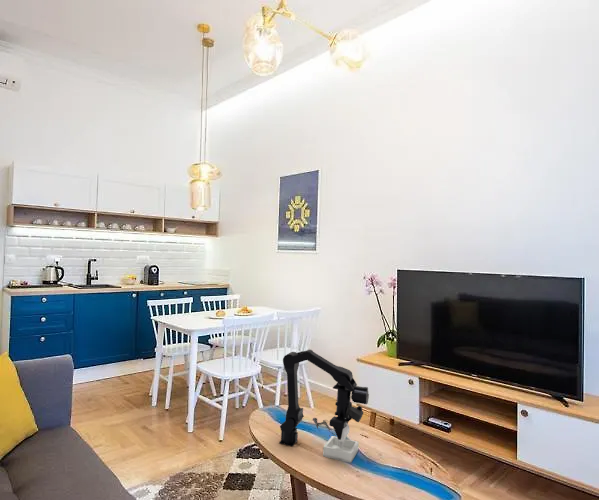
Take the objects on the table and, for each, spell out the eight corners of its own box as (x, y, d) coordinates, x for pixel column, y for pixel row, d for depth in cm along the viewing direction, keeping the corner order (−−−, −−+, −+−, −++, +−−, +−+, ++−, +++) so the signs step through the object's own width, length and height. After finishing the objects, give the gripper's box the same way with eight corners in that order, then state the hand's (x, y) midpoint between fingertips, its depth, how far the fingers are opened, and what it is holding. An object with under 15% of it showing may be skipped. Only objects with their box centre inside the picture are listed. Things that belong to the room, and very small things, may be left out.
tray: (323, 456, 174) (323, 446, 174) (331, 444, 185) (332, 435, 186) (350, 463, 170) (351, 453, 170) (358, 450, 181) (358, 441, 181)
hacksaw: (312, 420, 214) (312, 417, 214) (331, 419, 216) (331, 416, 216) (323, 440, 190) (323, 437, 190) (345, 440, 192) (345, 436, 192)
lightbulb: (338, 451, 173) (340, 425, 174) (330, 445, 179) (332, 419, 179) (351, 449, 176) (352, 423, 177) (343, 443, 182) (344, 417, 182)
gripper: (356, 410, 166) (354, 450, 166) (367, 397, 184) (365, 432, 183) (330, 405, 171) (327, 443, 170) (342, 392, 188) (340, 427, 188)
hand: (341, 436), depth 178 cm, fingers closed on lightbulb, 6 cm apart
